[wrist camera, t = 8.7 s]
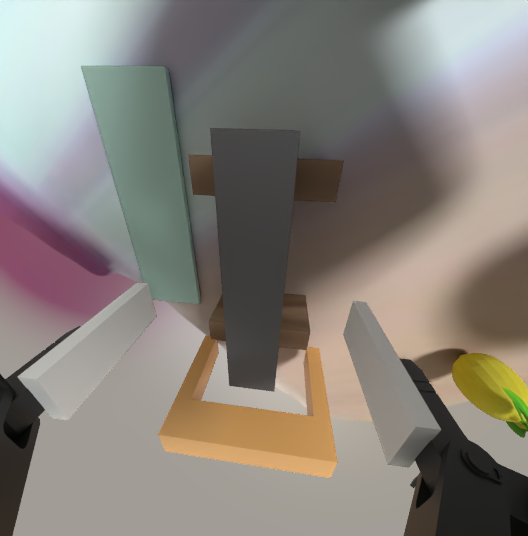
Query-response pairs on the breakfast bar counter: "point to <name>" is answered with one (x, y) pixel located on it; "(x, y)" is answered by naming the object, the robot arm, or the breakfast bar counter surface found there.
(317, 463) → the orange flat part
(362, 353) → the robot arm
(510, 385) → the lemon
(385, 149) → the breakfast bar counter surface
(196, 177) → the cradle
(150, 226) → the mat
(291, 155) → the grey rectangular bar
